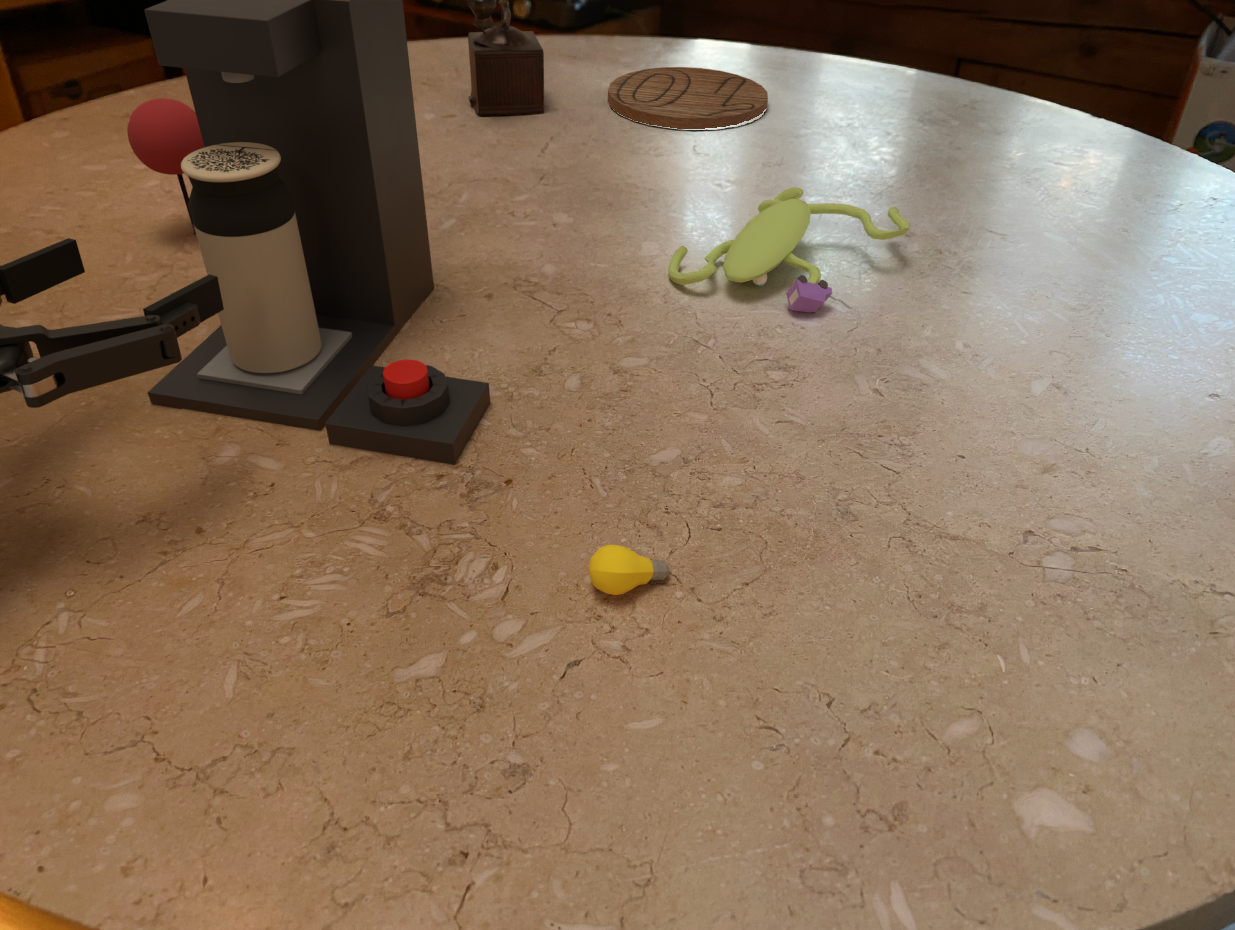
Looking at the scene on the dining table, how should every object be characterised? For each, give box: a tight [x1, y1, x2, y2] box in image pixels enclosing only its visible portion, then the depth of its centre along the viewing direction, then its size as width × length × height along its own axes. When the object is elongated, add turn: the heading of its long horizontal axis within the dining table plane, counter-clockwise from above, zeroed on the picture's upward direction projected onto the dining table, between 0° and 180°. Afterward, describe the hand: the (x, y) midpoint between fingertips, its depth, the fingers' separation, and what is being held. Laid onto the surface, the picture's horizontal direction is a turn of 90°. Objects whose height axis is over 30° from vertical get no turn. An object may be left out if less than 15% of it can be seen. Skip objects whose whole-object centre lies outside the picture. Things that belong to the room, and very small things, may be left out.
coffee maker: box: [144, 0, 435, 432], centre depth 81 cm, size 16×26×30 cm, turn 167°
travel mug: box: [181, 142, 322, 373], centre depth 80 cm, size 8×8×18 cm
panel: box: [325, 364, 491, 466], centre depth 79 cm, size 11×9×4 cm
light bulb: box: [588, 544, 671, 596], centre depth 65 cm, size 3×6×4 cm, turn 106°
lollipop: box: [126, 97, 204, 236], centre depth 103 cm, size 8×8×15 cm
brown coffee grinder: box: [466, 0, 545, 117], centre depth 138 cm, size 16×11×18 cm
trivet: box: [607, 66, 769, 129], centre depth 147 cm, size 25×25×2 cm
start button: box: [383, 358, 429, 400], centre depth 78 cm, size 4×4×2 cm
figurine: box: [667, 186, 911, 313], centre depth 103 cm, size 18×27×6 cm
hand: (145, 273), depth 72 cm, fingers open, 13 cm apart
